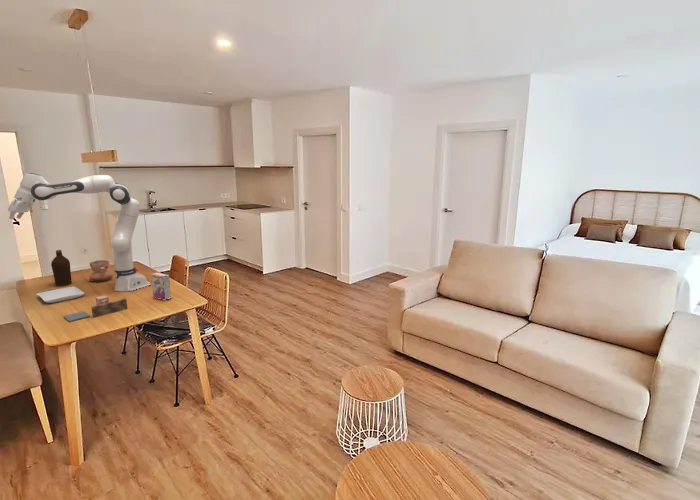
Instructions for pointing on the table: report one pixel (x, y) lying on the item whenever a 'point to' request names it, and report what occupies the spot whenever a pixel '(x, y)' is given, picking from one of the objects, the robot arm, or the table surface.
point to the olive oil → (61, 270)
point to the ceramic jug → (100, 271)
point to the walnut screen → (109, 307)
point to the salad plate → (60, 294)
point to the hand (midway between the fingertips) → (14, 218)
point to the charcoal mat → (76, 316)
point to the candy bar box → (160, 285)
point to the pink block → (101, 300)
